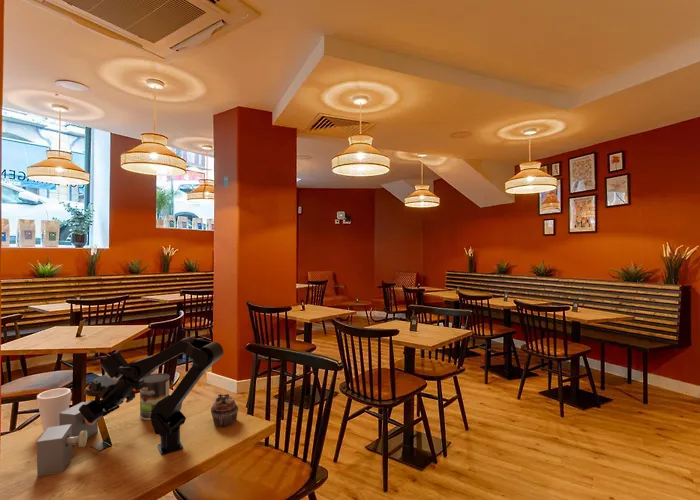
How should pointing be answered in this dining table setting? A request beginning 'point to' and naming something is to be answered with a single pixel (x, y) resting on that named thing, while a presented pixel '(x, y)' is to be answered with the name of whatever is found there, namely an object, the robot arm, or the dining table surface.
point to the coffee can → (153, 393)
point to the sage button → (78, 439)
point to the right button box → (77, 421)
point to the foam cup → (53, 406)
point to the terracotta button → (88, 422)
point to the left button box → (54, 450)
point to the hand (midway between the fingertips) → (93, 417)
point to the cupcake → (224, 411)
